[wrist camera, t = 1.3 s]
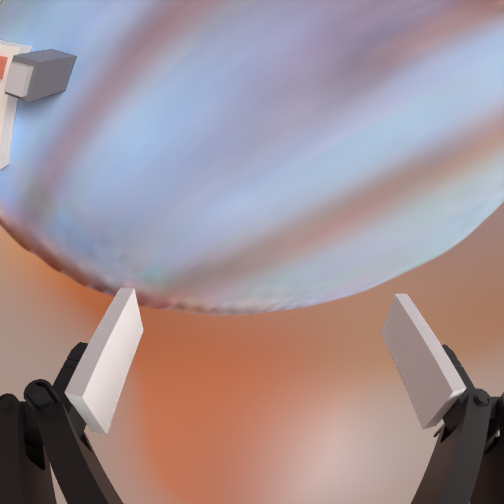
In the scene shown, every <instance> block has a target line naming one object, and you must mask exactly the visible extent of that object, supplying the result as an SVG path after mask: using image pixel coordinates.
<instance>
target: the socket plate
mask: <svg viewBox="0 0 504 504" xmlns="http://www.w3.org/2000/svg"><path fill="white" fill-rule="evenodd" d="M31 49H32V46H27V45H23V44H18V43H13V42H8V41H3V40H0V169H2V168H3V167H5V166H6V165H7V164H9V161H10V150H11V141H12V134H13V127H14V120H15V114H16V109H17V104H18V98H15V97H12V96H10V95H7V94H4V93H5V91H4V89H5V84H6V79H7V75H8V71H9V67H10V63H12V59H13V55H17V54H23V53H29V52H31Z"/></svg>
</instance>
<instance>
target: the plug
mask: <svg viewBox="0 0 504 504" xmlns="http://www.w3.org/2000/svg"><path fill="white" fill-rule="evenodd" d="M76 58H77V56H75V55H71V54H68V53H64V52H60V51H56V50H53V49H50V50H42V51H35V52H29V53H23V54H17V55H13V59H12V63H10V67H9V71H8V75H7V79H6V84H5V89H4V91H5V93H4V94H7V95H10V96H12V97H15V98H18V99H21V100H23V101H26V102H29V103H30V102H32V101H35V100H38V99H40V98H43V97H46V96H49V95H52V94H55V93H58V92H61V91H64V90H66V88H67V84H68V81H69V78H70V75H71V72H72V69H73V66H74V63H75V61H76Z"/></svg>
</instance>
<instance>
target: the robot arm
mask: <svg viewBox="0 0 504 504" xmlns="http://www.w3.org/2000/svg"><path fill="white" fill-rule="evenodd" d="M142 333H143V326H142V322H141V317H140V313H139V308H138V304H137V299H136V294H135V289H134V288H123V287H120V289H119V291H118V292H117V294H116V296H115V297H114V299H113V301H112V303H111V304H110V306H109V308H108V310H107V311H106V313H105V315H104V317H103V319H102V320H101V322H100V324H99V326H98V327H97V329H96V331H95V333H94V335H93V337H92V339H91V340H90V342H89V344H87V343H82V342H80V343H78V344H77V345H76V346H75V347H74V348H73V349H72V350H71V352H70V354H69V355H68V357H67V360H66V361H65V363H64V365H63V367H62V368H61V370H60V372H59V374H58V376H57V378H56V380H55V382H54V384H53V386H52V385H51V384H50V383H49V382H48V381H46V380H43V379H38V380H34V381H32V382H31V383H29V384H28V386H27V387H26V388H25V391H24V399H25V400H26V401H27V402H22V401H19V400H18V399H17V398H16V397H15V396H14V395H13V394H8V393H7V394H3V395H2V396H0V504H57V503H56V499H55V493H54V488H53V482H52V476H51V469H50V463H51V467H52V469H53V472H54V474H55V476H56V479H57V481H58V484H59V486H60V488H61V491H62V493H63V494H64V497H65V499H66V501H67V503H68V504H123V502H122V501H121V499H120V497H119V496H118V494H117V492H116V491H115V489H114V487H113V486H112V484H111V482H110V481H109V479H108V477H107V475H106V474H105V472H104V470H103V468H102V466H101V464H100V462H99V460H98V459H97V457H96V455H95V453H94V451H93V449H92V447H91V445H90V442H89V440H88V438H87V436H86V434H85V433H84V429H85V426H86V425H87V426H88V428H89V429H90V430H91V431H93V432H97V433H100V434H105V435H107V434H108V431H109V428H110V425H111V421H112V418H113V415H114V412H115V409H116V406H117V403H118V399H119V397H120V394H121V391H122V388H123V385H124V382H125V379H126V376H127V374H128V371H129V368H130V365H131V362H132V359H133V357H134V354H135V351H136V349H137V346H138V343H139V341H140V338H141V336H142ZM380 334H381V335H382V338H383V340H384V342H385V344H386V346H387V348H388V350H389V352H390V354H391V357H392V359H393V361H394V363H395V365H396V368H397V370H398V372H399V374H400V376H401V379H402V381H403V383H404V385H405V388H406V390H407V392H408V395H409V397H410V399H411V402H412V404H413V406H414V409H415V411H416V414H417V416H418V419H419V421H420V423H421V426H422V429H426V428H430V427H433V426H436V425H437V424H438V423H439V421H440V420H441V419H442V418H443V420H444V424H443V426H442V427H441V428H440V429H439V430H438V431H437V432H436V433H435V435H434V437H436V436H437V435H438V434H439V433H440V434H439V437H438V440H437V443H436V445H435V448H434V451H433V454H432V456H431V459H430V462H429V464H428V467H427V469H426V472H425V474H424V476H423V479H422V481H421V483H420V485H419V488H418V490H417V492H416V494H415V496H414V498H413V500H412V502H411V504H469V502H470V504H504V393H503V394H502V395H501V396H500V397H490V396H489V395H488V394H487V392H486V391H484V390H482V389H478V388H477V389H475V387H474V386H473V384H472V382H471V381H470V379H469V377H468V375H467V374H466V372H465V370H464V368H463V367H461V364H460V362H459V361H458V360H457V357H456V355H455V354H454V352H453V351H452V350H451V349H450V348H449V347H448V346H446V345H441V344H440V343H439V341H438V340H437V338H436V336H435V335H434V333H433V332H432V330H431V329H430V327H429V326H428V324H427V323H426V321H425V320H424V318H423V317H422V315H421V314H420V312H419V311H418V309H417V308H416V306H415V305H414V303H413V302H412V301H411V299H410V298H409V296H408V295H407V294H395V295H394V298H393V301H392V304H391V307H390V310H389V312H388V315H387V318H386V321H385V323H384V326H383V328H382V331H381V333H380ZM499 430H500V436H499V437H498V434H497V432H498V431H499ZM49 461H50V462H49Z"/></svg>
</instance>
